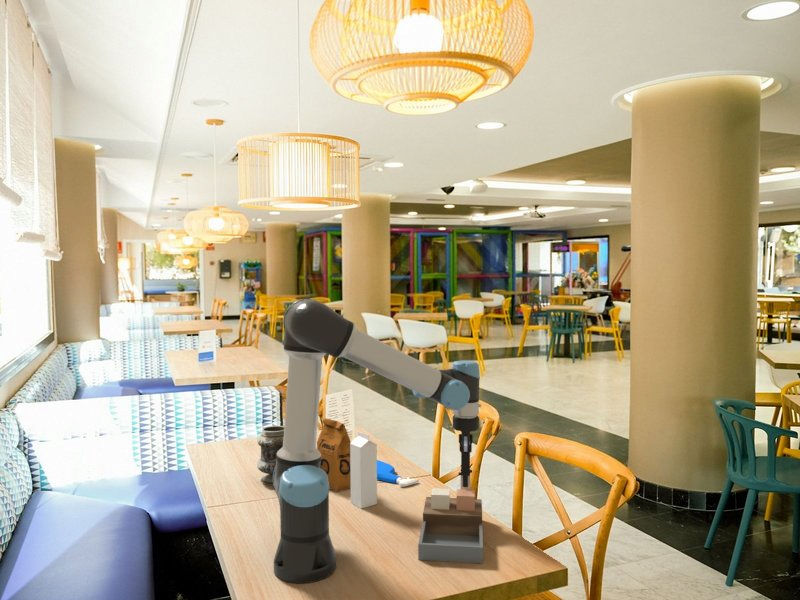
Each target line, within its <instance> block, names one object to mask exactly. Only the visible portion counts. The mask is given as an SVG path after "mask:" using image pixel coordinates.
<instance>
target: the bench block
mask: <svg viewBox="0 0 800 600" xmlns="http://www.w3.org/2000/svg"><path fill="white" fill-rule="evenodd" d="M456 502H457V497H456V498H455V497H450V507H449V510H445V509H431V496H426V497H425V501H424V507H423V510H422V511H423V512H422V522H423V521H426V534H445V535H465V536H479V524H482V525H483V506H482V505H483V501H482V498H481V499H477V498H475V511H467V510H456Z"/></svg>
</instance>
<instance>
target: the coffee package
mask: <svg viewBox="0 0 800 600" xmlns="http://www.w3.org/2000/svg"><path fill="white" fill-rule="evenodd" d="M322 424H323V427H322V429H321V430H320V434H319V436H318V438H317V440H316V448H317V449H318V451H319V452H320V453H321V464H320V468H321V469H322V470H324V471H325V472H326V474H327V476H328V482H329V489H331V490H334V491H335V492H341V491H346V490H351V478H350V443H351V442H352V441H351V438H350V436H349V434H348V431H347V428H346V425H345V424H344V423H342V422H340V421H338V420H334V419H330V418H327V417H325V418H323V420H322Z"/></svg>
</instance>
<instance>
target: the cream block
mask: <svg viewBox="0 0 800 600" xmlns="http://www.w3.org/2000/svg"><path fill="white" fill-rule="evenodd" d="M430 497H431V509H445V510H449V507H450V498H451V489H450V488H439V487H438V488H437V487H434V488H431V495H430Z"/></svg>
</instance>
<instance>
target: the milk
mask: <svg viewBox="0 0 800 600" xmlns="http://www.w3.org/2000/svg"><path fill="white" fill-rule="evenodd" d="M350 442H351V443H350V478H351V489H350V504H352V505H354V506H356V507H358V508H359V509H365V508H367V507H371V506H372V507H373V506H375V505H377V504H378V480H377V460H378V454H377V453H378V451H377V450H378V444H377V443H375V442H373V441H372V440H370V435H368V434H366V433H364V432H361V431H358V432H357V437H355V438H354V439H353V440H351V441H350Z"/></svg>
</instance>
